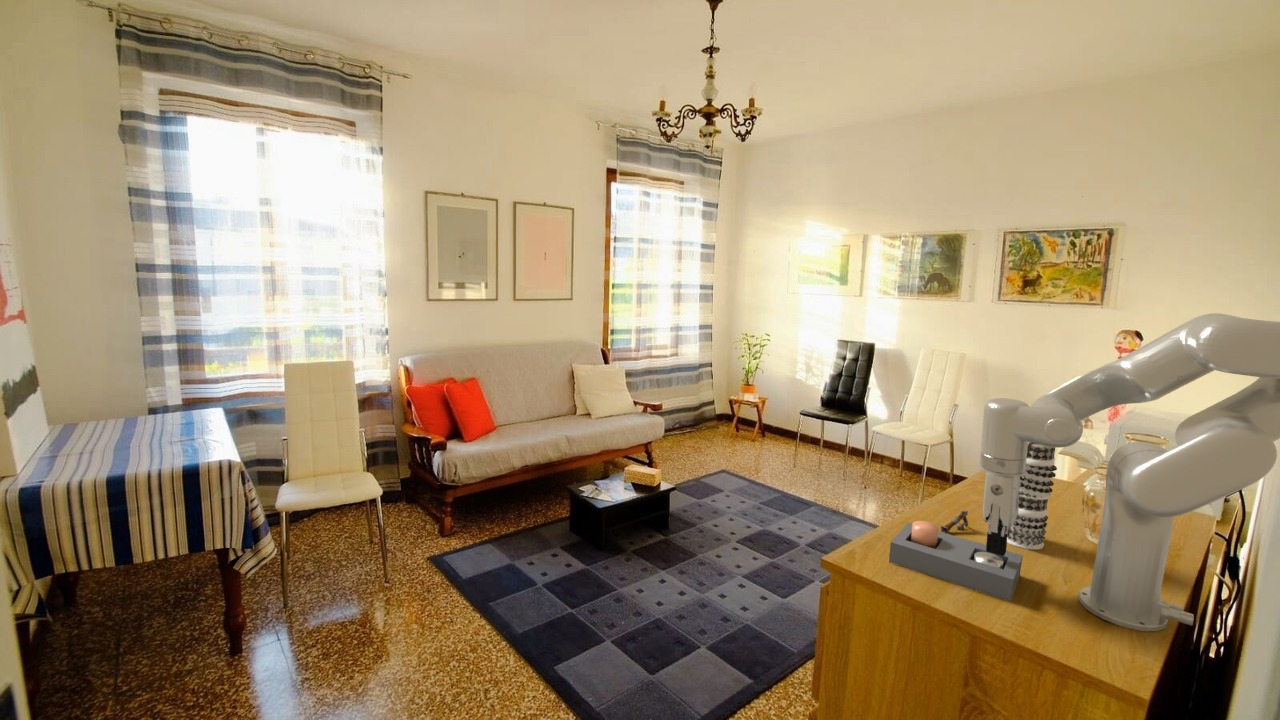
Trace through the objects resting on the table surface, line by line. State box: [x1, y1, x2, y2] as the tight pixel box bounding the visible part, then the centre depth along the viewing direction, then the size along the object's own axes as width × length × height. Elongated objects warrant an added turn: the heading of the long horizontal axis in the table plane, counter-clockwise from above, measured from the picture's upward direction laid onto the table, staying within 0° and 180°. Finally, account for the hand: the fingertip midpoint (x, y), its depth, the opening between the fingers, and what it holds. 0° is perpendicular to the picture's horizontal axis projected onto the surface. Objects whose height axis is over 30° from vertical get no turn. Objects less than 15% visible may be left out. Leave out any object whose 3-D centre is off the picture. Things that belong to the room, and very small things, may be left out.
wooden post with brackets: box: [940, 509, 969, 535], centre depth 139 cm, size 2×8×4 cm, turn 114°
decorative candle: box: [1005, 442, 1058, 551], centre depth 132 cm, size 9×9×25 cm
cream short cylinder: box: [974, 552, 1003, 569], centre depth 118 cm, size 5×5×4 cm
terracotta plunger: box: [911, 520, 940, 549], centre depth 125 cm, size 5×5×4 cm
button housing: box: [888, 522, 1024, 602], centre depth 121 cm, size 22×12×4 cm, turn 50°
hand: (995, 552), depth 116 cm, fingers closed
